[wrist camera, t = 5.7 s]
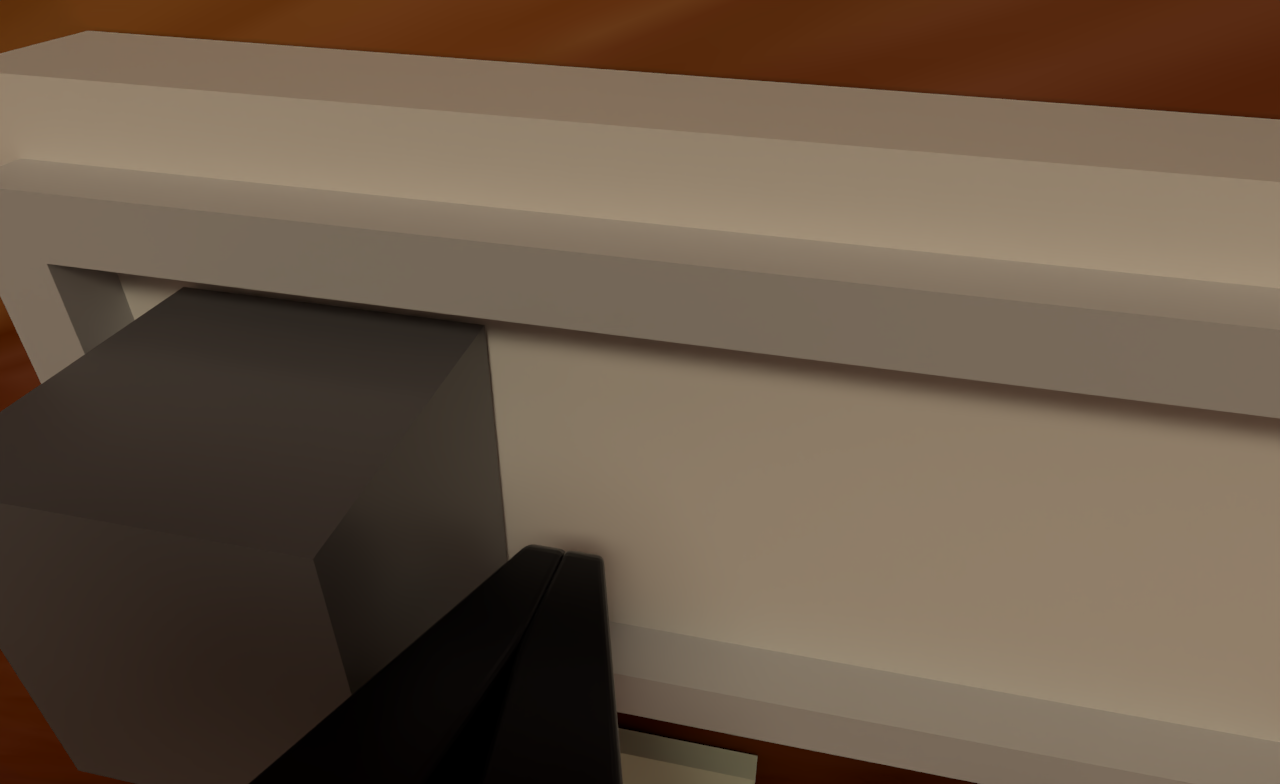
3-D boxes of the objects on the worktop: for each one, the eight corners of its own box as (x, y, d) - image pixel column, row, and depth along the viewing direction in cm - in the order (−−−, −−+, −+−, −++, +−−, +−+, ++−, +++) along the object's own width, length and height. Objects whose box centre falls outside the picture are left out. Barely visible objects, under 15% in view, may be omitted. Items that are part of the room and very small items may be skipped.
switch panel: (1592, 142, 8) (1905, 273, 5) (1215, 698, 12) (1297, 890, 10) (87, 30, 10) (-131, 87, 8) (253, 529, 15) (146, 654, 13)
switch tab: (484, 324, 9) (312, 559, 6) (509, 584, 11) (394, 843, 8) (182, 287, 9) (-106, 483, 7) (265, 541, 12) (79, 769, 9)
